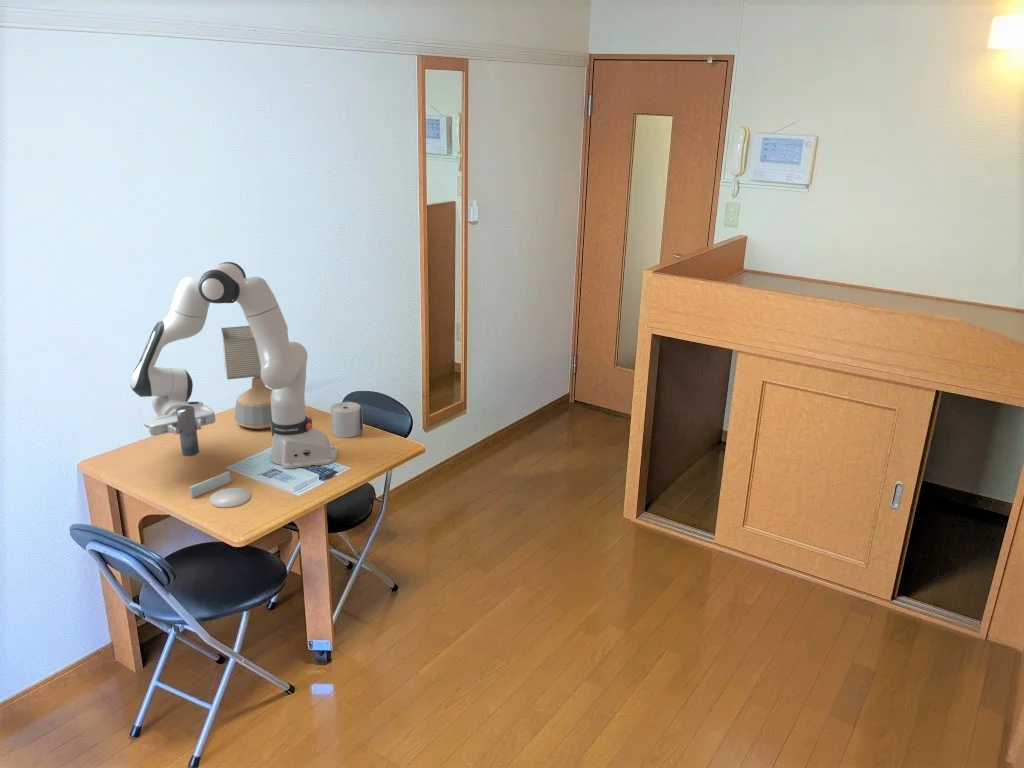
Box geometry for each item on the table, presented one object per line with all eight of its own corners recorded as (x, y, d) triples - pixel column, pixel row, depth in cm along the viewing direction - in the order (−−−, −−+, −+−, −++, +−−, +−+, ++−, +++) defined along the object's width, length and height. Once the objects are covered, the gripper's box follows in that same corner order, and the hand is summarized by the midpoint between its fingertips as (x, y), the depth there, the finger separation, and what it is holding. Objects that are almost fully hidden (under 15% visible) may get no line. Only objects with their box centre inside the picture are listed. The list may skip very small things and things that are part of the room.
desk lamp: (233, 435, 302) (223, 339, 289) (229, 416, 319) (220, 324, 306) (294, 428, 310) (287, 334, 297) (287, 410, 326) (281, 319, 314)
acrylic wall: (229, 480, 269) (228, 471, 268) (231, 481, 269) (230, 472, 268) (190, 497, 259) (189, 486, 257) (192, 497, 258) (191, 487, 257)
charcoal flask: (201, 449, 268) (195, 405, 263) (197, 455, 263) (191, 412, 258) (184, 449, 268) (178, 406, 262) (180, 456, 263) (174, 412, 258)
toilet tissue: (334, 426, 313) (333, 401, 309) (366, 426, 313) (365, 401, 310) (329, 438, 303) (328, 412, 299) (362, 438, 303) (361, 412, 300)
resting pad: (253, 488, 265) (253, 487, 265) (246, 507, 254) (246, 505, 253) (214, 489, 263) (214, 488, 263) (205, 508, 252) (205, 506, 252)
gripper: (141, 413, 266) (152, 427, 255) (206, 400, 277) (219, 413, 266) (143, 431, 268) (155, 446, 257) (208, 417, 279) (221, 431, 269)
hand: (188, 429), depth 262 cm, fingers closed on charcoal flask, 5 cm apart
